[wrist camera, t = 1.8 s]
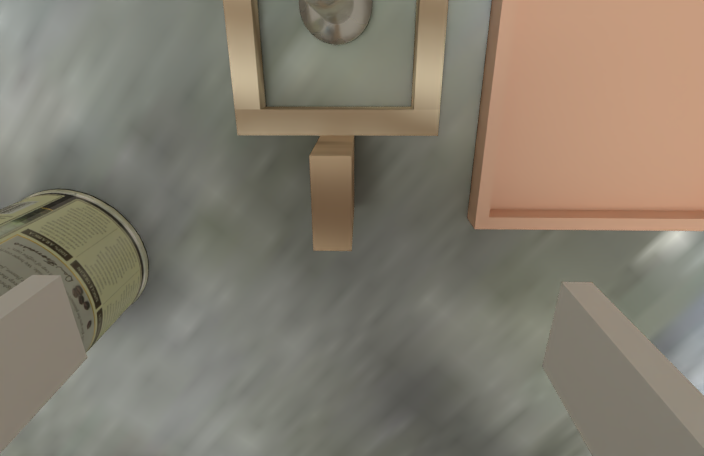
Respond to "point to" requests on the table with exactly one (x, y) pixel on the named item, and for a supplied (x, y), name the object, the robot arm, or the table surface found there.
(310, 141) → the table surface
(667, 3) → the tray
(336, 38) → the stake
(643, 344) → the robot arm
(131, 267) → the coffee can
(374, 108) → the tan wooden piece
